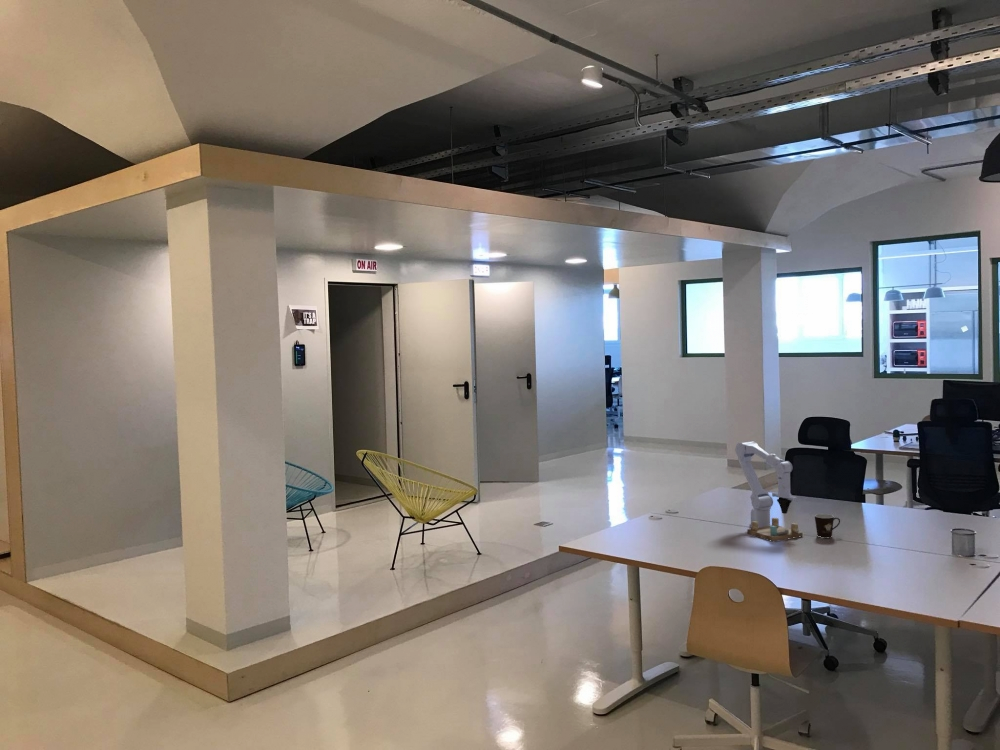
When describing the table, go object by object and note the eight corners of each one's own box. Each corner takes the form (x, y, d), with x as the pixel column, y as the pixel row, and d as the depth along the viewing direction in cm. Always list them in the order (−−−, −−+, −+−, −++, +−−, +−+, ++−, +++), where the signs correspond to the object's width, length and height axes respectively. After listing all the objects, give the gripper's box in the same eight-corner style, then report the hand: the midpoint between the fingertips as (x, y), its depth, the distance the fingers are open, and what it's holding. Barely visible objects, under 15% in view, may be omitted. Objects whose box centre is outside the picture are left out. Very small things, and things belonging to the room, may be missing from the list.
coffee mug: (815, 538, 366) (815, 517, 365) (814, 533, 374) (813, 513, 374) (842, 539, 362) (841, 518, 362) (840, 535, 370) (839, 514, 370)
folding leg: (785, 531, 371) (785, 523, 371) (790, 533, 368) (790, 524, 368) (769, 534, 367) (768, 526, 367) (773, 535, 364) (773, 527, 364)
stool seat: (747, 533, 379) (747, 521, 379) (775, 528, 386) (775, 516, 386) (773, 541, 363) (773, 529, 362) (802, 536, 370) (802, 524, 369)
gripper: (801, 487, 373) (801, 515, 374) (779, 482, 387) (779, 509, 387) (790, 489, 370) (791, 516, 371) (768, 484, 384) (769, 511, 384)
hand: (784, 513), depth 379 cm, fingers closed
